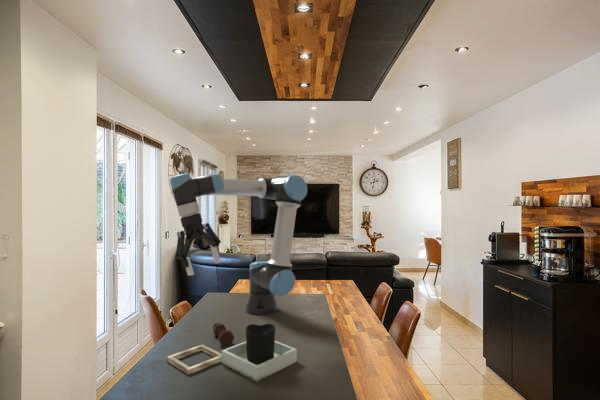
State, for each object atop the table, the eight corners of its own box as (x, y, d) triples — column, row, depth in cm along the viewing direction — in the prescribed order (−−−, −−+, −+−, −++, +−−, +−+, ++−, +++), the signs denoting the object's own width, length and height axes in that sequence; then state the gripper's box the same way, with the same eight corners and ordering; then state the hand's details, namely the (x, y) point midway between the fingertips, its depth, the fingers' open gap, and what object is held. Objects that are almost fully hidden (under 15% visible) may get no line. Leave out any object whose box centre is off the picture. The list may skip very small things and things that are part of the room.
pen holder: (259, 350, 116) (259, 320, 116) (280, 357, 111) (281, 326, 111) (239, 360, 108) (239, 329, 109) (261, 368, 103) (262, 335, 103)
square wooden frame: (202, 348, 119) (202, 344, 119) (224, 360, 110) (224, 355, 110) (166, 361, 109) (166, 356, 109) (188, 374, 101) (188, 369, 101)
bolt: (218, 335, 136) (228, 349, 122) (207, 331, 134) (216, 344, 120) (226, 322, 137) (236, 333, 124) (215, 317, 135) (224, 328, 122)
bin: (261, 346, 121) (261, 335, 121) (296, 361, 110) (296, 349, 110) (221, 363, 108) (221, 350, 108) (256, 381, 97) (256, 367, 97)
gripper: (207, 210, 141) (221, 259, 142) (155, 224, 120) (171, 281, 121) (220, 206, 137) (234, 257, 138) (168, 220, 116) (184, 280, 117)
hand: (205, 268), depth 129 cm, fingers open, 13 cm apart
